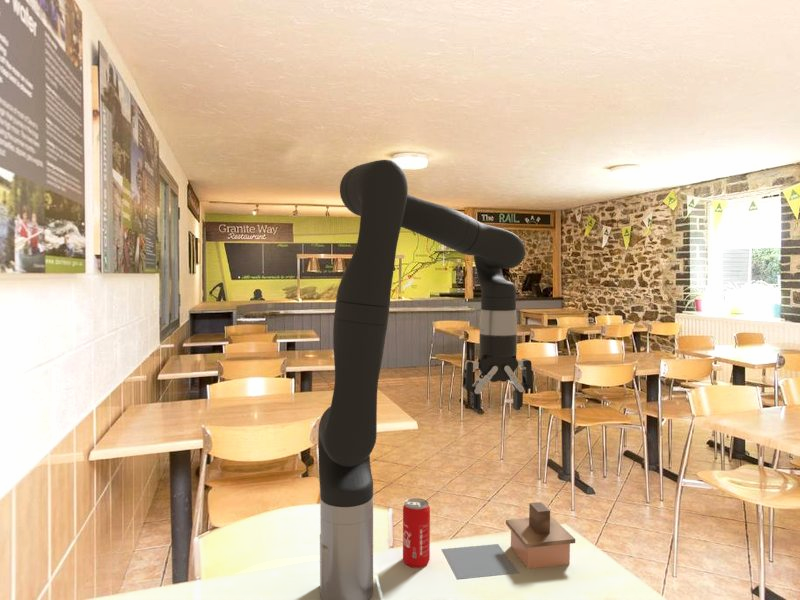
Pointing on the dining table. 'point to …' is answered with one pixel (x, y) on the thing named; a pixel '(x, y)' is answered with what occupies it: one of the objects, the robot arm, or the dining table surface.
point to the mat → (479, 561)
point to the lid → (539, 528)
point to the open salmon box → (541, 554)
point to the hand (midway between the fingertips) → (497, 410)
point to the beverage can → (416, 532)
